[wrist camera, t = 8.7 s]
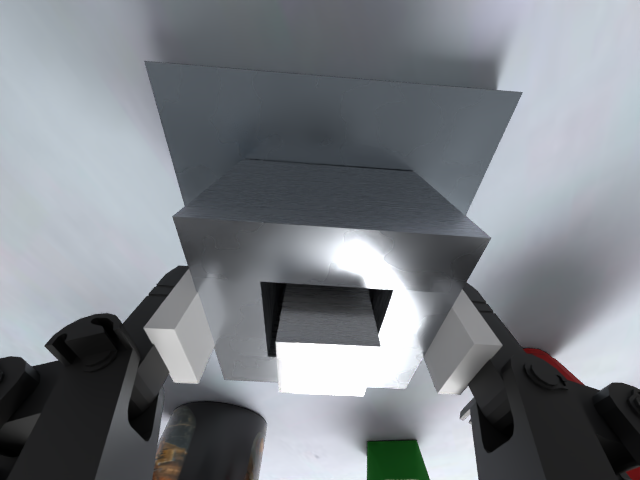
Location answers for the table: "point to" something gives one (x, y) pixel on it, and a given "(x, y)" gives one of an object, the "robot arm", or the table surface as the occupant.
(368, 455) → the milk carton
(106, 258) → the table surface
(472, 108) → the stand
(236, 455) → the jar
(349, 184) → the block
